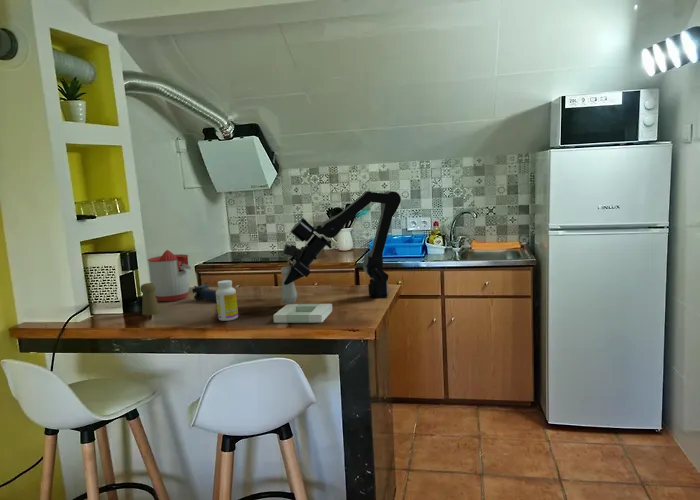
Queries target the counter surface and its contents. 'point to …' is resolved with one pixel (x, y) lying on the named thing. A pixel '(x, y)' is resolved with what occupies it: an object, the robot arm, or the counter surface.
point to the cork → (149, 299)
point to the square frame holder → (302, 313)
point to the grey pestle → (288, 287)
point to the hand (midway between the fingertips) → (284, 283)
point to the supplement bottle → (226, 301)
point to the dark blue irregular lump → (204, 293)
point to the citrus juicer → (170, 276)
